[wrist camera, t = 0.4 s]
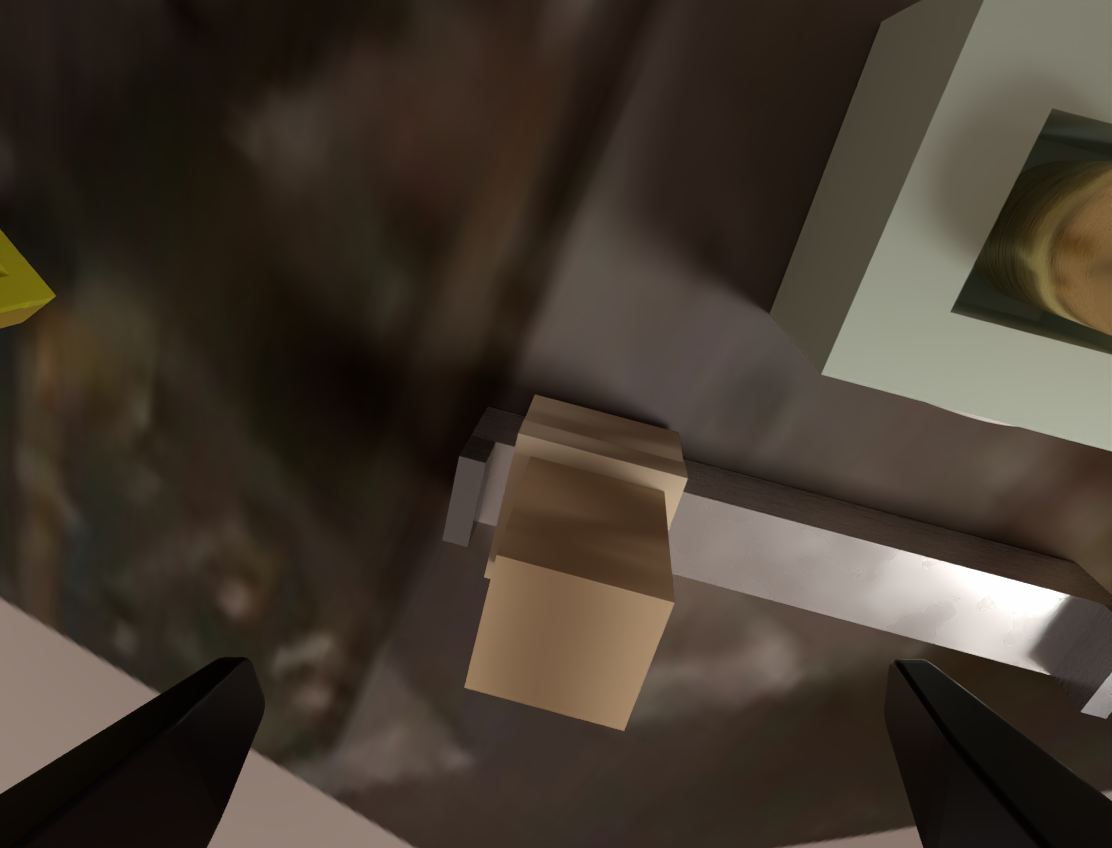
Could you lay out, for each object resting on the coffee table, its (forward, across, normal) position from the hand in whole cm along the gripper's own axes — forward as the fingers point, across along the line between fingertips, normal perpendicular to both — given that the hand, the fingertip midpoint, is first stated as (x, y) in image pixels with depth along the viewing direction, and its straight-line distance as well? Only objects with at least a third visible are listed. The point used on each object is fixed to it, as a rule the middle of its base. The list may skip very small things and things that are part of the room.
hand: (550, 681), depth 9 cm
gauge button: (+9, -11, -4) cm, 15 cm away
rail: (+14, -6, +6) cm, 16 cm away
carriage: (+14, +1, +4) cm, 14 cm away
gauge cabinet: (+14, -10, -4) cm, 18 cm away
